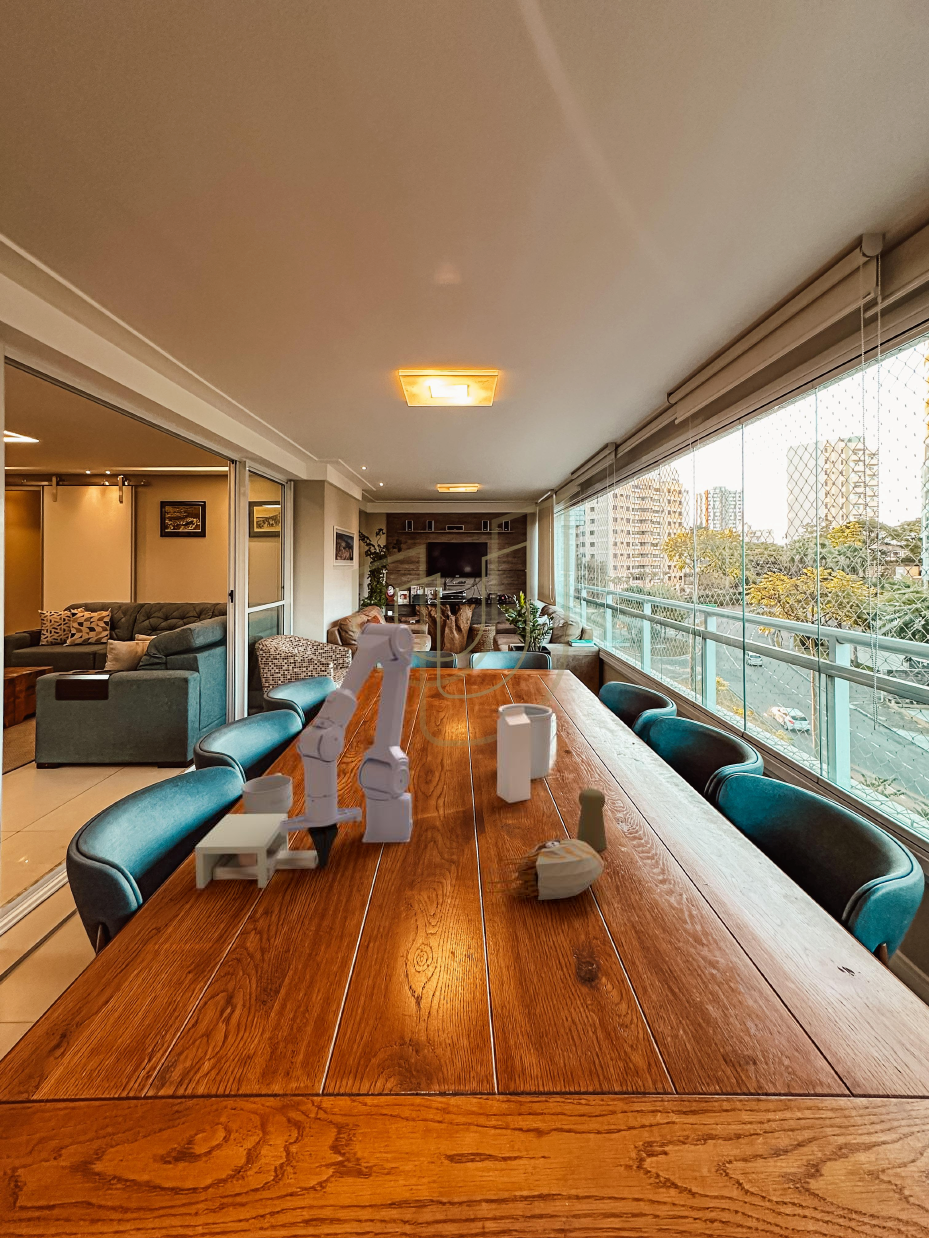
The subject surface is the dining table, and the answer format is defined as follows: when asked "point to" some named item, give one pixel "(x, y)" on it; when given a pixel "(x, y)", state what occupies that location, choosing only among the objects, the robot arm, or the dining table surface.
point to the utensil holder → (537, 736)
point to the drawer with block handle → (275, 860)
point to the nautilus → (555, 869)
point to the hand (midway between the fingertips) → (322, 864)
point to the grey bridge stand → (239, 843)
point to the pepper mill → (592, 819)
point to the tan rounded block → (247, 859)
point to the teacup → (268, 795)
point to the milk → (513, 755)
